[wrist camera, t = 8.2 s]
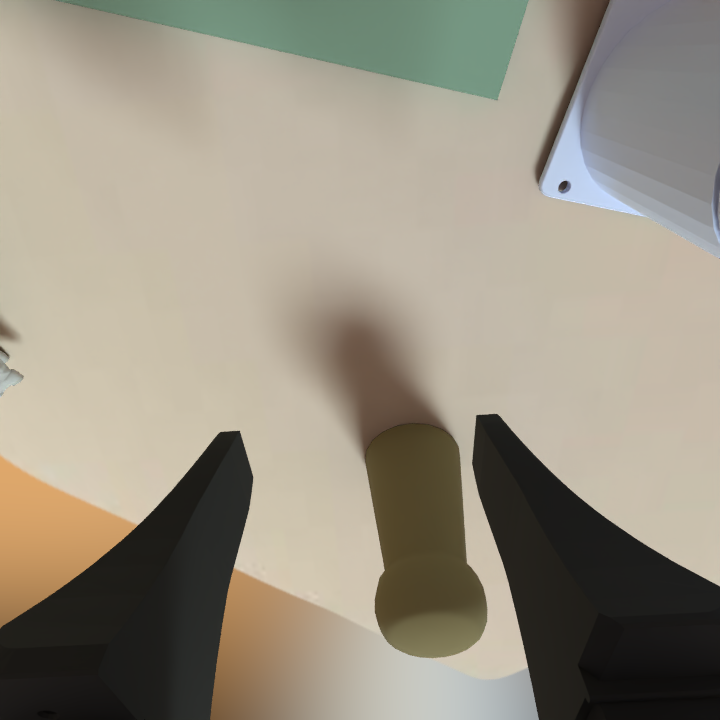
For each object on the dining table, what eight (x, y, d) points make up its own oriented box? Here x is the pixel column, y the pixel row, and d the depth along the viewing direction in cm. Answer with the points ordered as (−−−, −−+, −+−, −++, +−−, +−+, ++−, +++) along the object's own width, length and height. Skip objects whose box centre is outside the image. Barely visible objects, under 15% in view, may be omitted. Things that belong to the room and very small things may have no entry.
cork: (362, 425, 27) (362, 611, 18) (463, 421, 27) (513, 607, 18) (367, 491, 31) (369, 676, 22) (457, 488, 31) (497, 673, 21)
